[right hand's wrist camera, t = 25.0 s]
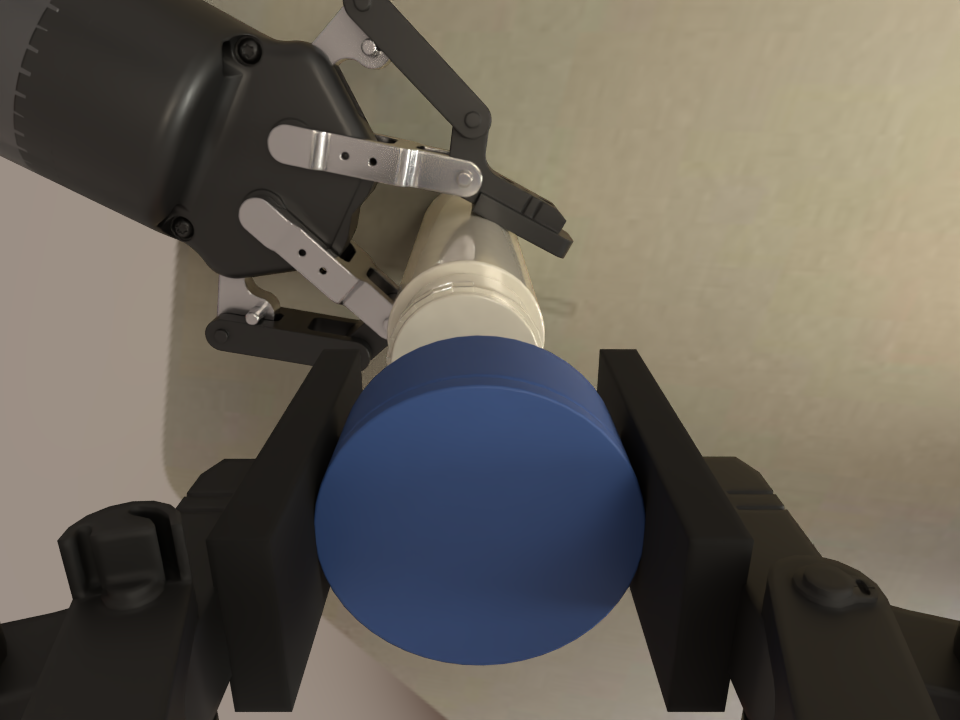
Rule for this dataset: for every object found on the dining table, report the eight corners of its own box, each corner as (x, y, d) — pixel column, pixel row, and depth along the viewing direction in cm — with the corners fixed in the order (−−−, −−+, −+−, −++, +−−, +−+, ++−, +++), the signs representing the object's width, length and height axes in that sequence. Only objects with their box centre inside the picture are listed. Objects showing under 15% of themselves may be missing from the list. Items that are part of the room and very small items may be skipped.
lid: (284, 422, 12) (243, 489, 10) (531, 279, 11) (543, 320, 9) (437, 616, 14) (429, 709, 12) (664, 504, 13) (701, 584, 11)
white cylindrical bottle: (481, 167, 30) (494, 246, 15) (529, 246, 32) (585, 391, 16) (403, 217, 31) (341, 341, 16) (453, 292, 32) (440, 472, 17)
